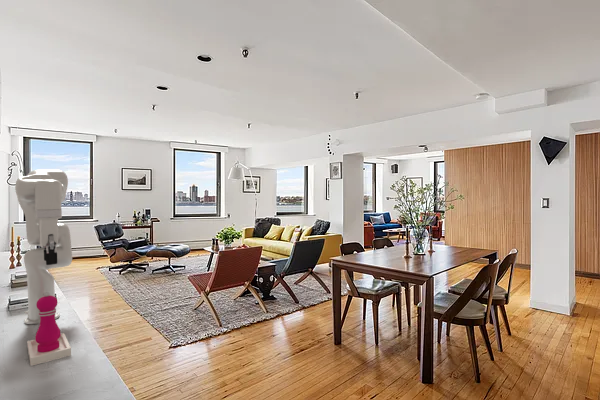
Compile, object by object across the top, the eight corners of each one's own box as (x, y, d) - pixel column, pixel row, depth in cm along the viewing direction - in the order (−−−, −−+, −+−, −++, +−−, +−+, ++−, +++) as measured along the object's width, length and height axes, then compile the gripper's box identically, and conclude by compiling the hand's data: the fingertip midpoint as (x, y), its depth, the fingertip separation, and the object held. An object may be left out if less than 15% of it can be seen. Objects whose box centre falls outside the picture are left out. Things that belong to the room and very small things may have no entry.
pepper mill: (47, 354, 118) (45, 294, 118) (30, 352, 120) (28, 294, 120) (66, 344, 125) (64, 289, 125) (49, 343, 127) (47, 288, 127)
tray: (27, 348, 126) (27, 341, 126) (64, 339, 133) (64, 332, 133) (30, 366, 112) (30, 358, 112) (71, 355, 119) (71, 348, 119)
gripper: (34, 214, 130) (36, 260, 130) (37, 216, 116) (39, 267, 117) (59, 212, 134) (60, 257, 135) (64, 215, 121) (66, 264, 122)
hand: (50, 262), depth 126 cm, fingers open, 9 cm apart
